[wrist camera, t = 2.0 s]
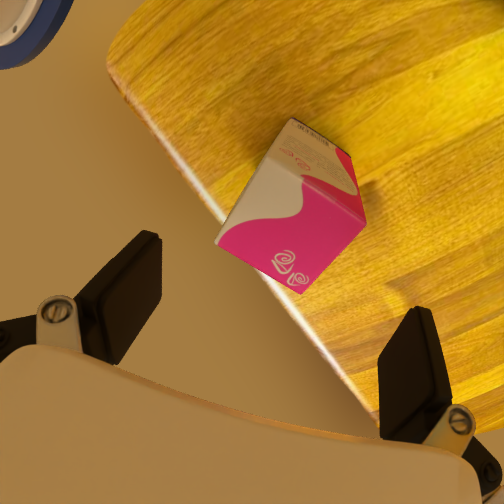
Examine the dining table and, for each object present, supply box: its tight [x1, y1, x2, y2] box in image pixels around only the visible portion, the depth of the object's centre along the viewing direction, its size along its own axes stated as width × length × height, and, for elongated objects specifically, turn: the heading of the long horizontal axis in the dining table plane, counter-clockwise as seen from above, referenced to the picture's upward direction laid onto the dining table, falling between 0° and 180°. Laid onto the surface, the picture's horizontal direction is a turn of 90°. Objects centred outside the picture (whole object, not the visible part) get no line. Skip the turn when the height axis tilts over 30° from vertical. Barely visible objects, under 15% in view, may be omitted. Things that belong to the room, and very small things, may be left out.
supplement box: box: [214, 117, 367, 295], centre depth 20 cm, size 6×6×12 cm
